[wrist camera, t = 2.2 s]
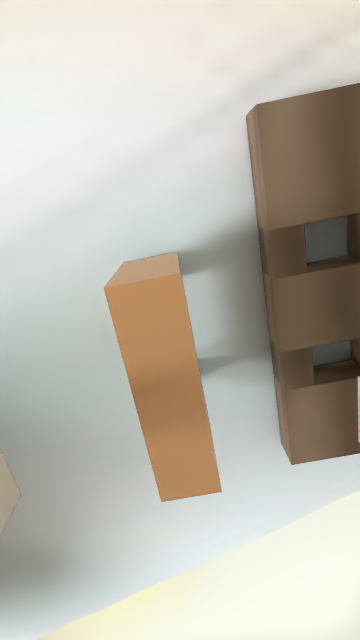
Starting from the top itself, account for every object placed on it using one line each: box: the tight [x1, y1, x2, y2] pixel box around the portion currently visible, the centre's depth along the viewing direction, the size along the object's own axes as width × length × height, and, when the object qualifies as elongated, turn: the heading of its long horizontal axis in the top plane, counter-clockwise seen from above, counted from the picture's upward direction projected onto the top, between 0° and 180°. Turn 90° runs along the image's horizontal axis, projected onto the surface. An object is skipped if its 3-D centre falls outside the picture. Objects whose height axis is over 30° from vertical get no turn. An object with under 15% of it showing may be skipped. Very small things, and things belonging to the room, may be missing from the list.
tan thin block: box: [104, 252, 222, 502], centre depth 19 cm, size 3×11×10 cm, turn 11°
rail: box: [246, 83, 360, 465], centre depth 23 cm, size 8×24×2 cm, turn 11°
